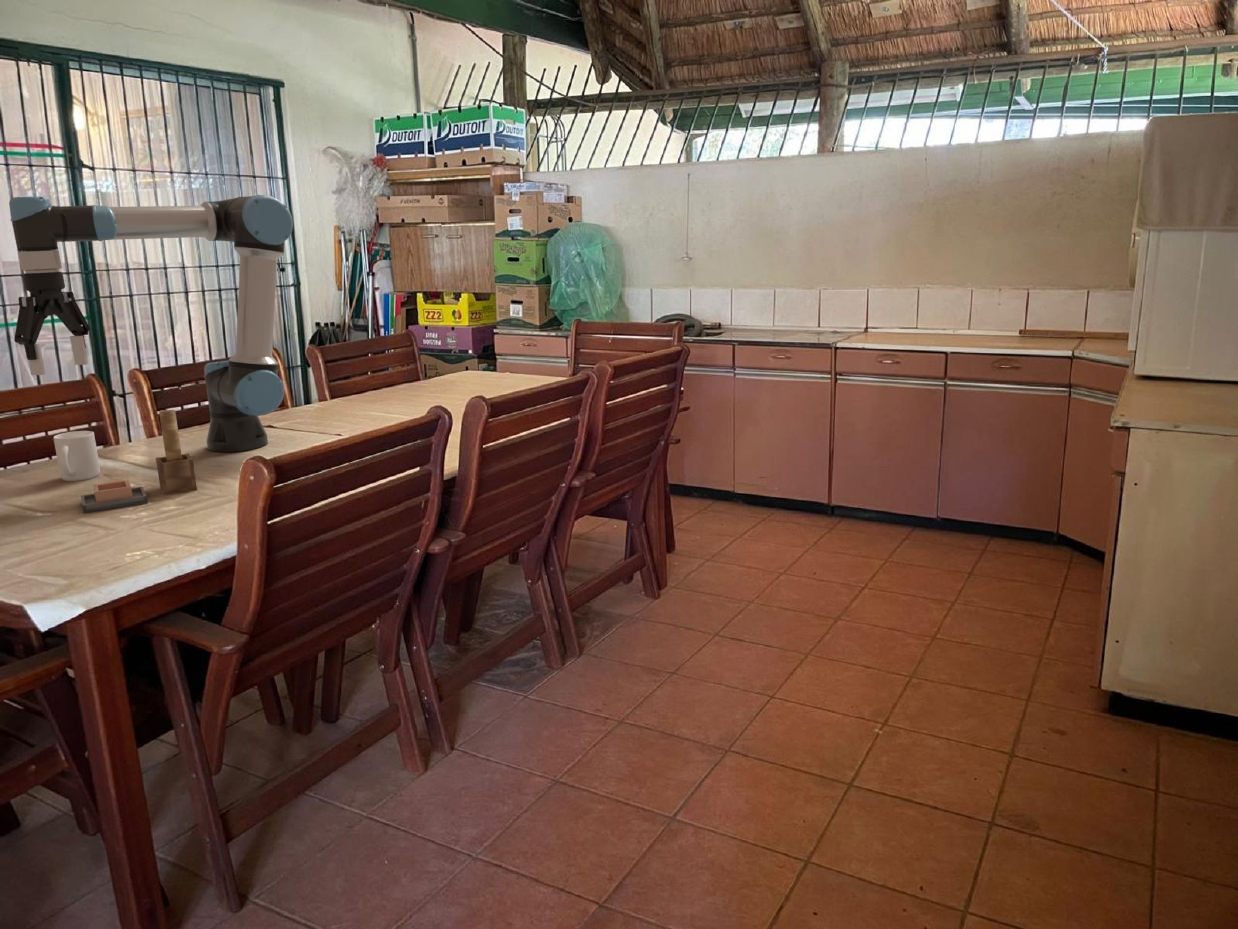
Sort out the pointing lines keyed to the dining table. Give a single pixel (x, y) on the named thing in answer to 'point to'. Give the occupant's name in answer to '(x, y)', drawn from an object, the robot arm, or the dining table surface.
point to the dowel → (170, 435)
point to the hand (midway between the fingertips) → (60, 369)
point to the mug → (77, 455)
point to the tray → (92, 506)
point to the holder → (112, 491)
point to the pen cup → (176, 475)
